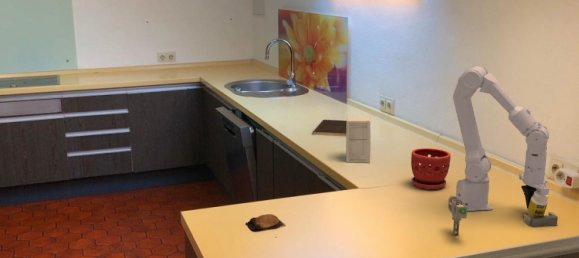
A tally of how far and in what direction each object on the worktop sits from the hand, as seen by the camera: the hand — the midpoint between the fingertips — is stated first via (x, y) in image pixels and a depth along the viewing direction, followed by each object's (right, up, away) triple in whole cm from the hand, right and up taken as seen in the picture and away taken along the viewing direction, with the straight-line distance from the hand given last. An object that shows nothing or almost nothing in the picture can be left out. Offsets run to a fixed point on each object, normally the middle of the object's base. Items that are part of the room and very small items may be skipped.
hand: (530, 209), depth 189 cm
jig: (+1, -3, -6) cm, 7 cm away
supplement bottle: (0, -2, -2) cm, 3 cm away
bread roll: (-80, -5, -4) cm, 81 cm away
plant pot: (-25, +5, +28) cm, 37 cm away
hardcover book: (-52, +23, +104) cm, 118 cm away
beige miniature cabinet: (-46, +12, +57) cm, 75 cm away
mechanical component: (-26, -6, -13) cm, 30 cm away
